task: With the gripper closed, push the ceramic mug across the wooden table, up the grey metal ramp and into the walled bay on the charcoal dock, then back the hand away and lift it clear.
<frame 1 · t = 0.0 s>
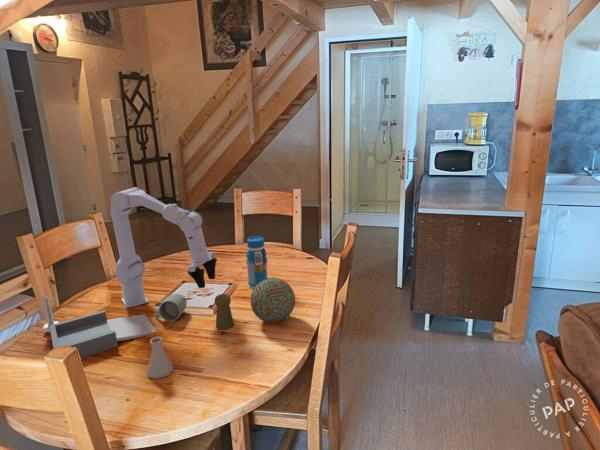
hand: (207, 283, 145), 11 cm above the table, tool pointing down, fingers open, 7 cm apart
beverage bottle: (258, 285, 168), on the table
olive pawn: (225, 326, 137), on the table
dock: (112, 334, 134), on the table
ceramic mug: (171, 316, 144), on the table
flask: (160, 372, 114), on the table
decorative sphere: (274, 320, 139), on the table
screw: (52, 331, 137), on the table
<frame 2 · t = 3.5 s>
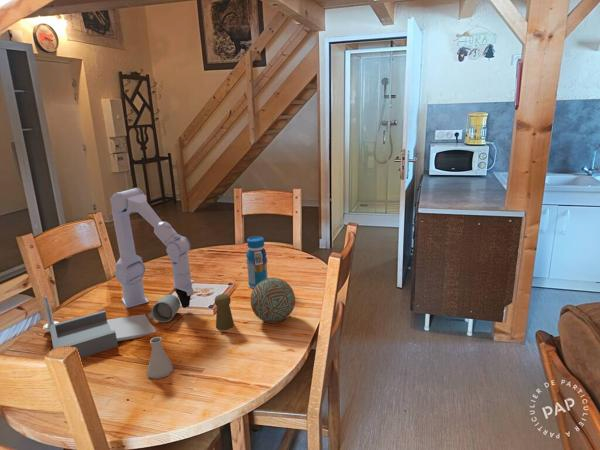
hand: (185, 306, 147), 2 cm above the table, tool pointing down, fingers closed
ceramic mug: (164, 318, 143), on the table, touching gripper
everything else where it was.
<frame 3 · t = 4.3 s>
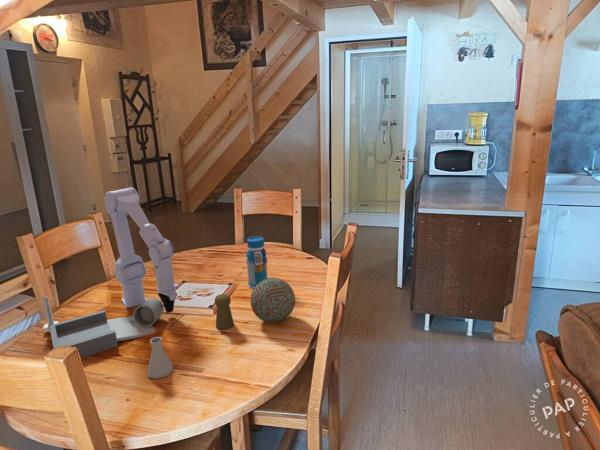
hand: (169, 311, 144), 2 cm above the table, tool pointing down, fingers closed
ceramic mug: (145, 322, 140), on the table, touching gripper
everything else where it was.
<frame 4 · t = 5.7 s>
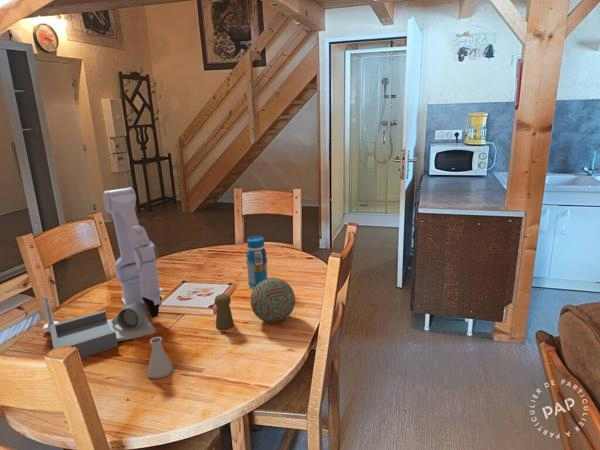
hand: (154, 316, 141), 2 cm above the table, tool pointing down, fingers closed
ceramic mug: (128, 326, 137), point 1 cm above the table, touching dock, gripper
everything else where it was.
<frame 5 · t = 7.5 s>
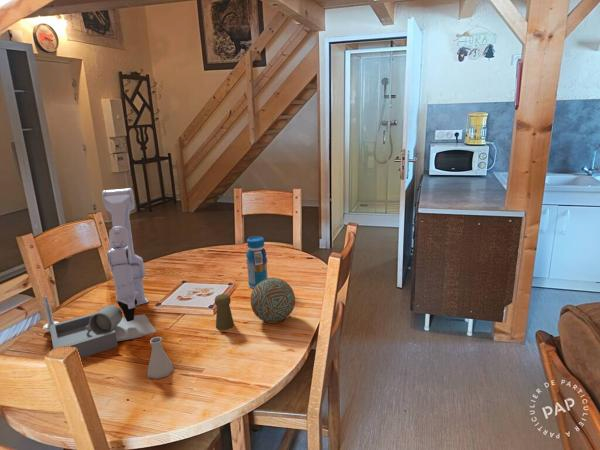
hand: (130, 320, 136), 3 cm above the table, tool pointing down, fingers closed
ceramic mug: (103, 330, 132), point 2 cm above the table, touching dock, gripper
everything else where it was.
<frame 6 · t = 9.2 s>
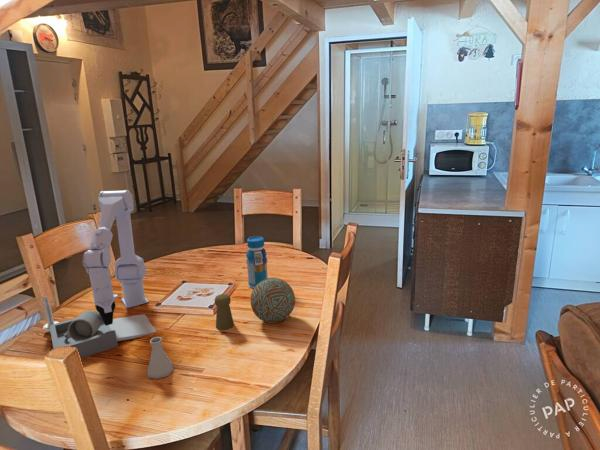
hand: (108, 324, 132), 4 cm above the table, tool pointing down, fingers closed
ceramic mug: (83, 336, 129), point 2 cm above the table, touching dock, gripper
everything else where it was.
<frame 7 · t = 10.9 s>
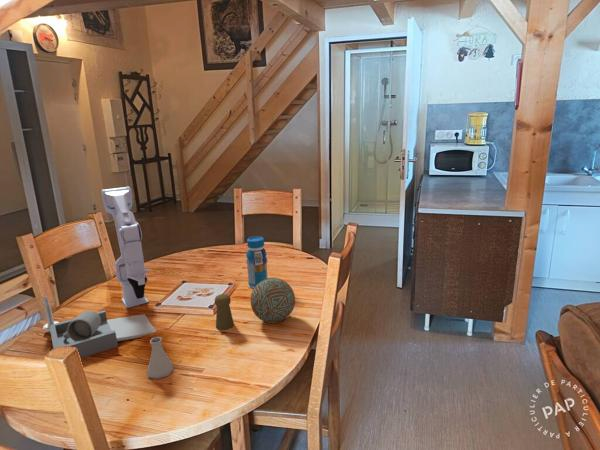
hand: (140, 297, 138), 9 cm above the table, tool pointing down, fingers closed
ceramic mug: (82, 337, 129), point 2 cm above the table, touching dock
everything else where it was.
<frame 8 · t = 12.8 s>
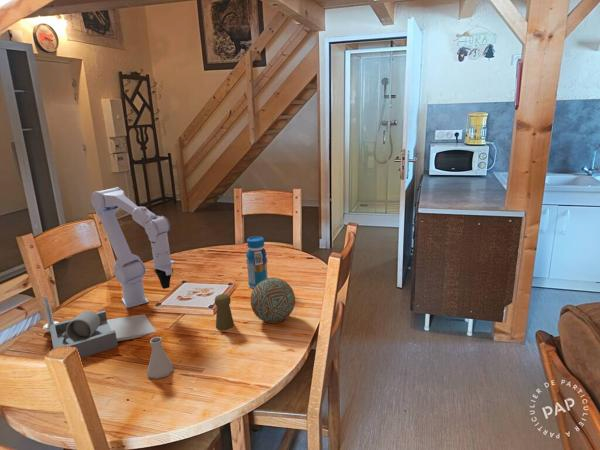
hand: (165, 287, 145), 9 cm above the table, tool pointing down, fingers closed
nothing on the table moved.
at the end: ceramic mug inside the target area on the dock (0.7 cm from its centre), point 1.8 cm above the dock's base; ceramic mug tilted 0°; the gripper is holding nothing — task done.
